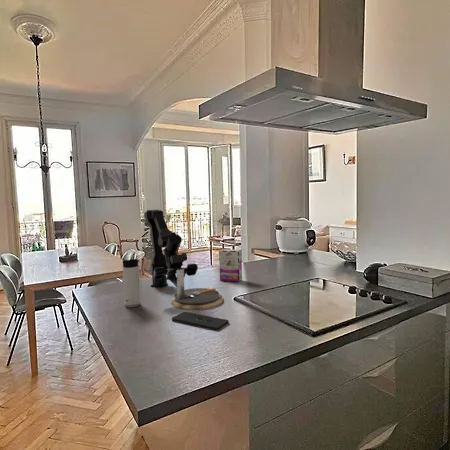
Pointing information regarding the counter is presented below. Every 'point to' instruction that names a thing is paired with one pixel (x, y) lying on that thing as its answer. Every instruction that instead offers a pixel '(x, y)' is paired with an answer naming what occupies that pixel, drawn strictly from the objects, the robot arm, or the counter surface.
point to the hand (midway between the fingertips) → (180, 288)
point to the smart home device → (200, 321)
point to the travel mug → (131, 283)
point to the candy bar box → (230, 265)
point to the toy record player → (193, 293)
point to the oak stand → (196, 307)
